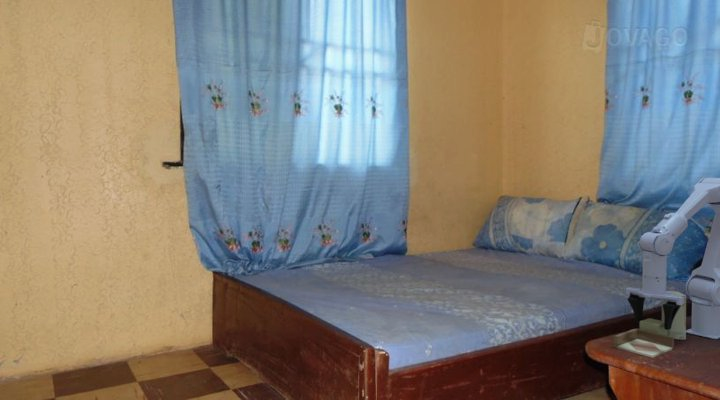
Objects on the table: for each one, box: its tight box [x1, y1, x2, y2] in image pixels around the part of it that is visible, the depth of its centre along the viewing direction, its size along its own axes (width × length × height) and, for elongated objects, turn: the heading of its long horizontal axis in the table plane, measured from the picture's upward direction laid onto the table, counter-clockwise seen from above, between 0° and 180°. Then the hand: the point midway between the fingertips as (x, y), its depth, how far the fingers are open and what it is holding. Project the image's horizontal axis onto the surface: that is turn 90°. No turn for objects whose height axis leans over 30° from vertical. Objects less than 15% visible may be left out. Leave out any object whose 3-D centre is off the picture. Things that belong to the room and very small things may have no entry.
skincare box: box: [661, 290, 687, 341], centre depth 149 cm, size 6×4×12 cm
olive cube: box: [639, 317, 667, 336], centre depth 147 cm, size 5×5×5 cm
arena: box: [613, 328, 675, 358], centre depth 140 cm, size 11×10×3 cm
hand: (653, 325), depth 147 cm, fingers open, 7 cm apart
